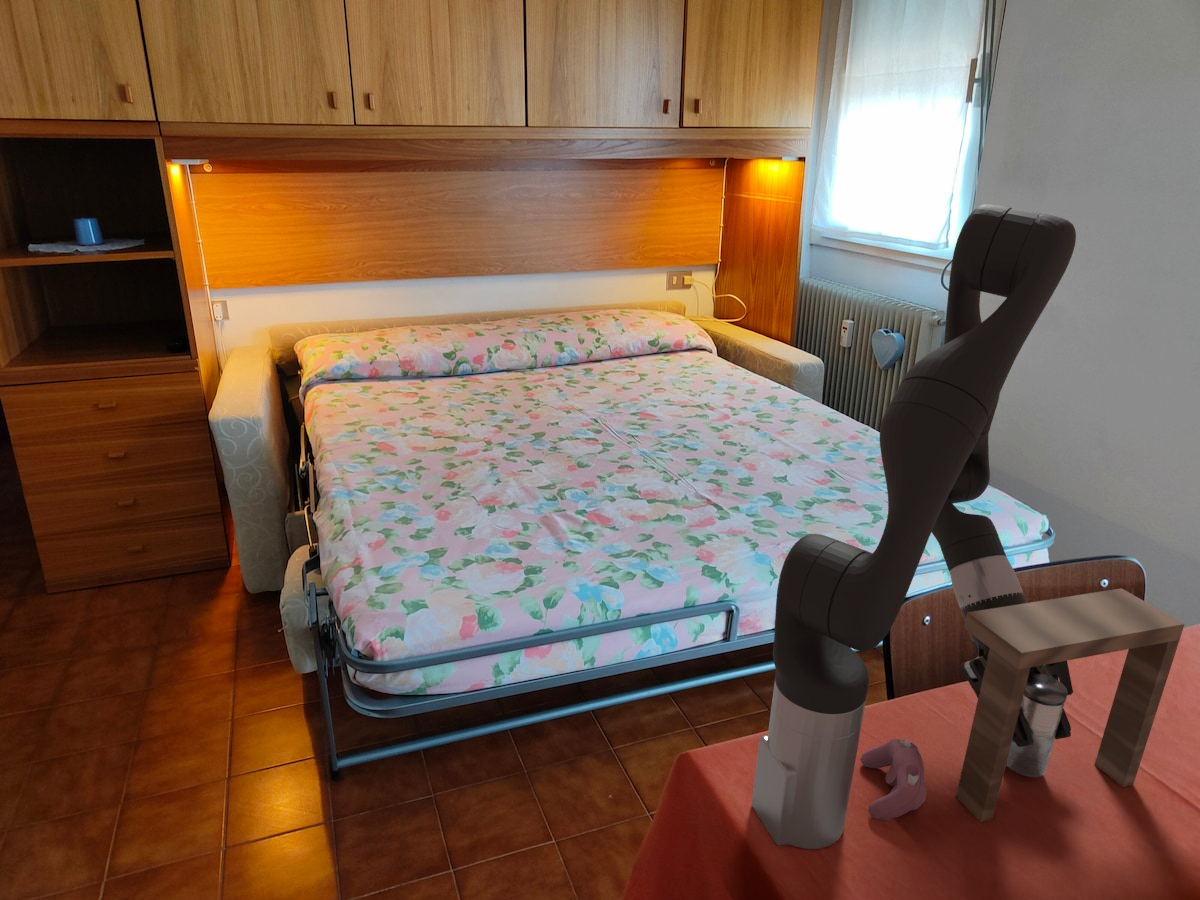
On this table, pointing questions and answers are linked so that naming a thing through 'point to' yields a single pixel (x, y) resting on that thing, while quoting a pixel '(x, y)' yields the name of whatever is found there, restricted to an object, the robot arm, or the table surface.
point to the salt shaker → (1038, 724)
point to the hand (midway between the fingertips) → (1044, 741)
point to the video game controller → (897, 778)
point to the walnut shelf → (1059, 637)
